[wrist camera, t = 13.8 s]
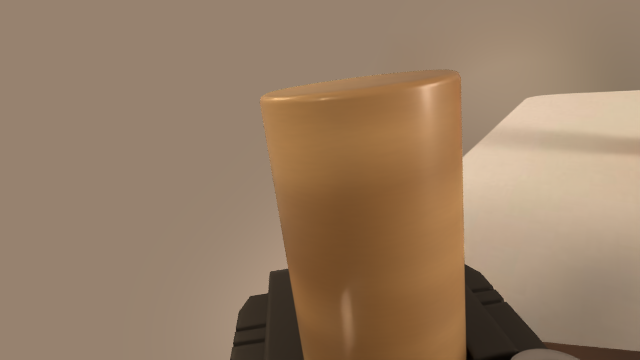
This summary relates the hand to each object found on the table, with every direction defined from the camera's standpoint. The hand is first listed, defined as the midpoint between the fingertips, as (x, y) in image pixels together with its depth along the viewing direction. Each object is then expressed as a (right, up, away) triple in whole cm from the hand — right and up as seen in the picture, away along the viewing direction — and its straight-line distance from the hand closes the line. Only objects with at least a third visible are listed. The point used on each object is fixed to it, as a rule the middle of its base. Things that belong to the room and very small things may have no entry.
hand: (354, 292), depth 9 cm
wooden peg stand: (+1, -8, -1) cm, 8 cm away
